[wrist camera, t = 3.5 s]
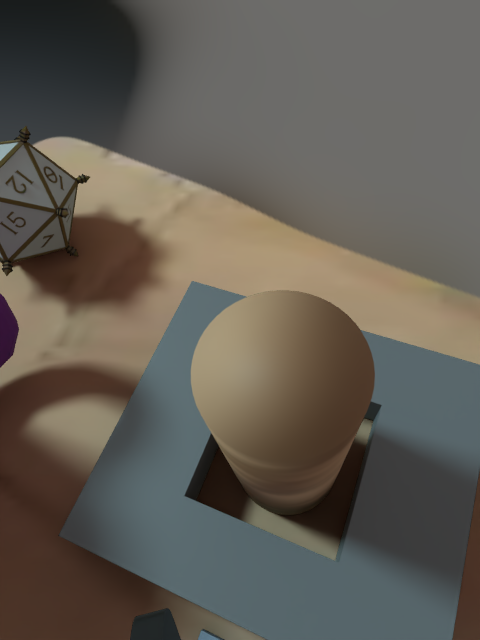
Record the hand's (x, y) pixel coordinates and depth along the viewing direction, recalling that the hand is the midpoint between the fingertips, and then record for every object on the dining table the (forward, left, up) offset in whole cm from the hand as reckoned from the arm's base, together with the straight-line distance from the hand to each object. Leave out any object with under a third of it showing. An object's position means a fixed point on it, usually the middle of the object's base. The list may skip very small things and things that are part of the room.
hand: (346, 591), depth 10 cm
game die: (-24, +12, -12) cm, 29 cm away
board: (-3, +4, -11) cm, 13 cm away
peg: (-3, +4, -11) cm, 13 cm away
